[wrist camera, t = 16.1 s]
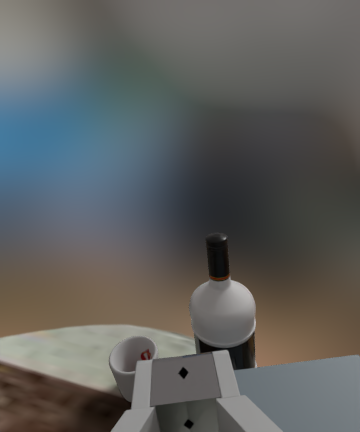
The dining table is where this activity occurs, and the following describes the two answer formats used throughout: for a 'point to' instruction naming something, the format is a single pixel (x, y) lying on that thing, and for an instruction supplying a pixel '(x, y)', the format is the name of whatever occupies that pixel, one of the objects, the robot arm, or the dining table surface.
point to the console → (307, 394)
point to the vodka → (223, 310)
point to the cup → (130, 361)
